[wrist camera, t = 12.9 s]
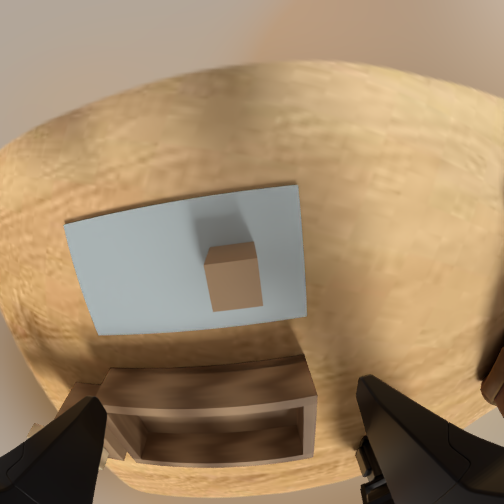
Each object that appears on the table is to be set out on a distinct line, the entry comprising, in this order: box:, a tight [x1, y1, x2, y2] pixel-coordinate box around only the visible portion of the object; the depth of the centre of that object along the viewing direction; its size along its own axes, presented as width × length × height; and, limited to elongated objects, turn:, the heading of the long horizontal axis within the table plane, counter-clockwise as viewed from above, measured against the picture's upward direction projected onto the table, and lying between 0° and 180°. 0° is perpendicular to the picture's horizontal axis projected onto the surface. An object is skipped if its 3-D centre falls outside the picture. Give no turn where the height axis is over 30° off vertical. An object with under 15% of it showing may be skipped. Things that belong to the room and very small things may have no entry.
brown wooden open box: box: [55, 354, 317, 468], centre depth 19 cm, size 24×10×10 cm, turn 97°
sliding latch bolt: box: [27, 423, 109, 470], centre depth 16 cm, size 9×2×2 cm, turn 97°
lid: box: [64, 185, 307, 335], centre depth 18 cm, size 18×10×4 cm, turn 97°
